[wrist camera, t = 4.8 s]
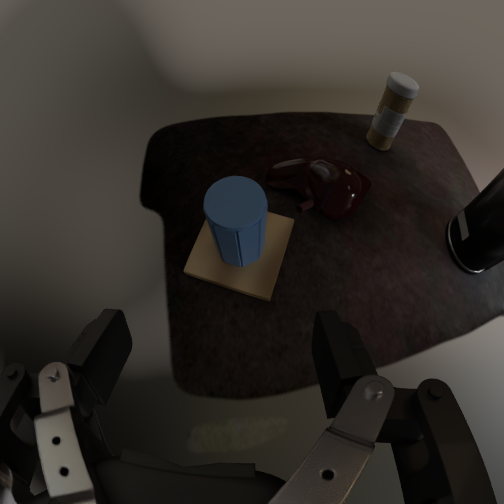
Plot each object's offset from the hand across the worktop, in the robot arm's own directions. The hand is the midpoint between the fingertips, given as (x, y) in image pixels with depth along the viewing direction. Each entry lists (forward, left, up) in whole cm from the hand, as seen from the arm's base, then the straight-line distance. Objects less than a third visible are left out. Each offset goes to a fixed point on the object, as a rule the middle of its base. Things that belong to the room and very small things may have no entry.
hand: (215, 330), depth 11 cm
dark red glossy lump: (-3, -22, -18) cm, 29 cm away
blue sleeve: (+4, -11, -17) cm, 20 cm away
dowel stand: (+4, -11, -18) cm, 22 cm away
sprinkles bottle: (-11, -36, -18) cm, 42 cm away
